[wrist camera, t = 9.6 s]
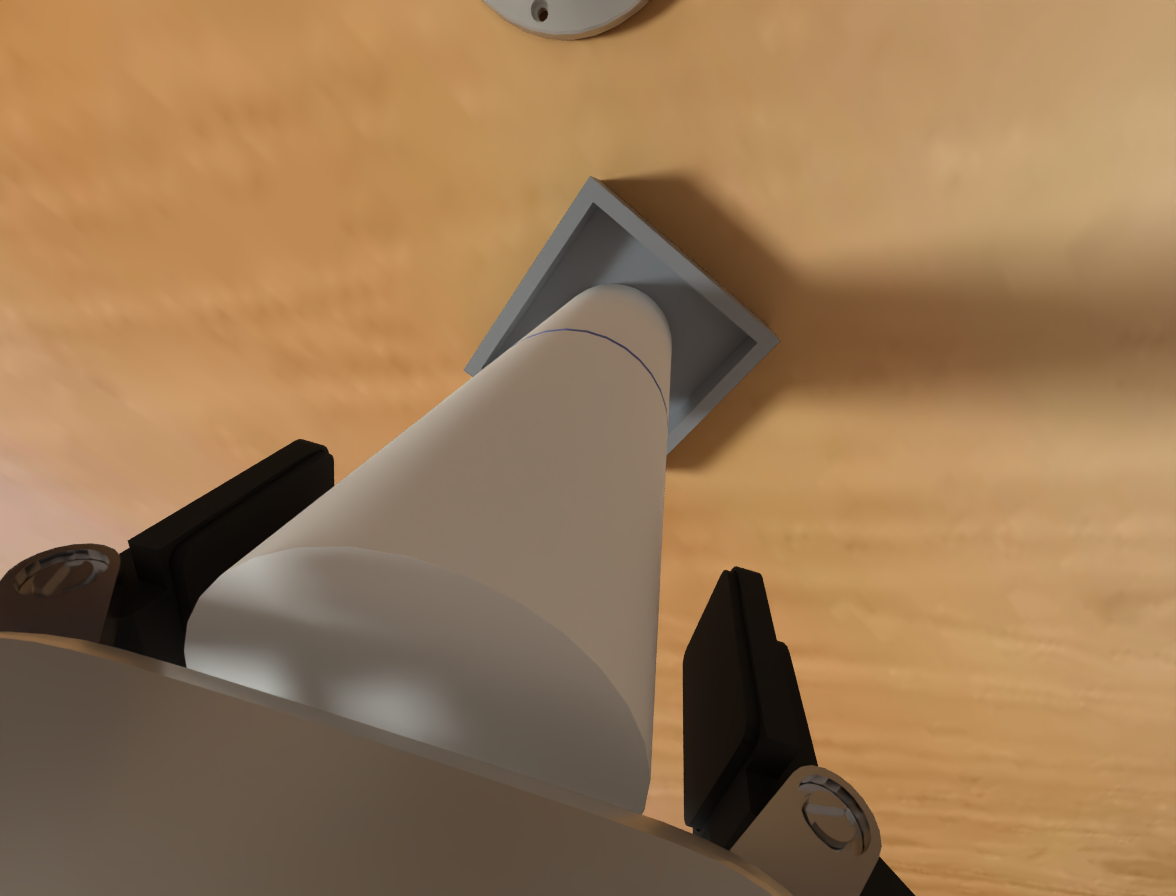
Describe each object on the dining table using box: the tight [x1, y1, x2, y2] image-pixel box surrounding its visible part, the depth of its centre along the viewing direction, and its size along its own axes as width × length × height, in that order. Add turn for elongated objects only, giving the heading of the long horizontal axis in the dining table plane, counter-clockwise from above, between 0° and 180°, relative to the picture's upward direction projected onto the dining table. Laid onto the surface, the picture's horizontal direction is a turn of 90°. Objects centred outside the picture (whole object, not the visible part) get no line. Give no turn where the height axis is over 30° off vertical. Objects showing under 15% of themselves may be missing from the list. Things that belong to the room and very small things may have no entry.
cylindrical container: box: [184, 284, 672, 815], centre depth 18 cm, size 7×7×25 cm
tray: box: [464, 176, 780, 456], centre depth 29 cm, size 13×13×4 cm
